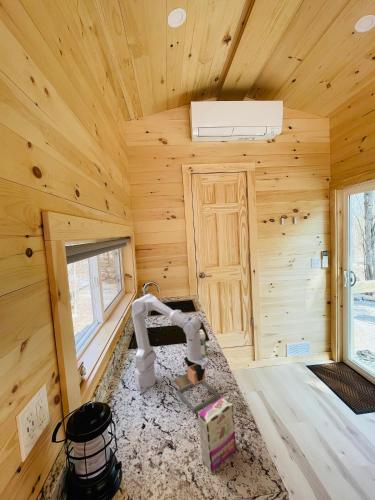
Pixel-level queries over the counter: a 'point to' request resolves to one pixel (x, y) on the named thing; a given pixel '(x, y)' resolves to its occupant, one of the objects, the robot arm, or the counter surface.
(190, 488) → the counter surface
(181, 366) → the counter surface
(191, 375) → the collar
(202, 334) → the syrup box
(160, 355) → the counter surface
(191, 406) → the tray
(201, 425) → the candy bar box
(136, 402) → the counter surface
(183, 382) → the stake board
